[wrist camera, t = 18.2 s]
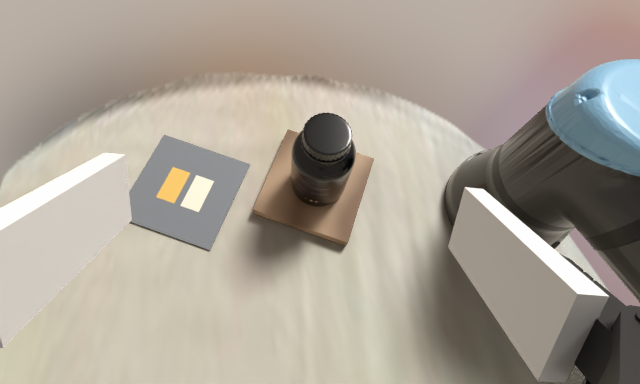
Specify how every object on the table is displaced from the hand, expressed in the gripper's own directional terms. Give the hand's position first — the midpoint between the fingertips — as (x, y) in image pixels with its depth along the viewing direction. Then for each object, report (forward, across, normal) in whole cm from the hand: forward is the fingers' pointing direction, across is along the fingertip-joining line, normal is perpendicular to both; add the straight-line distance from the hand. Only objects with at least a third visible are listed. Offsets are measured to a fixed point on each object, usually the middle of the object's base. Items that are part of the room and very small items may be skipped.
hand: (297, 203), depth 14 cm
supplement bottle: (+30, +2, -10) cm, 32 cm away
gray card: (+29, -14, -13) cm, 35 cm away
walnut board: (+31, +2, -11) cm, 33 cm away
